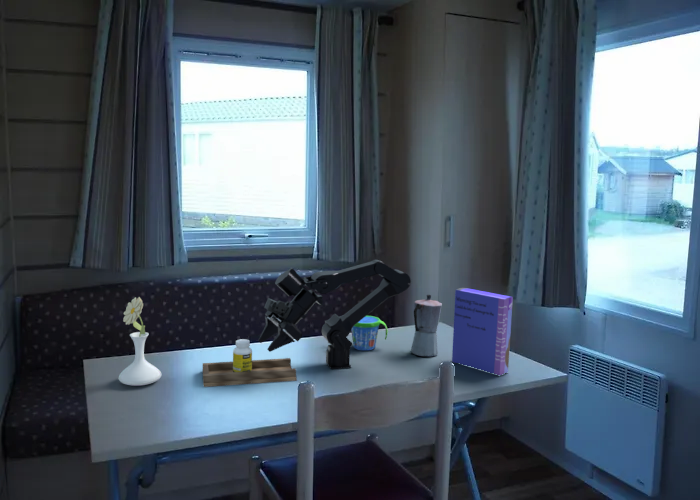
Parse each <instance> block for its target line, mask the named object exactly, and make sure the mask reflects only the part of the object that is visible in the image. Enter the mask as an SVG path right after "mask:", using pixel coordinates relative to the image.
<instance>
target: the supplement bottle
mask: <svg viewBox="0 0 700 500" xmlns="http://www.w3.org/2000/svg"><path fill="white" fill-rule="evenodd" d="M250 345H251V343H250V340H249V339H246V338H242V339H241V338H240V339H237V340H235V347H234V349H233V351H232V362H233V372H246V371H252V360H253V350H252V348H251V347H250Z"/></svg>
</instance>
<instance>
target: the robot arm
mask: <svg viewBox="0 0 700 500" xmlns="http://www.w3.org/2000/svg"><path fill="white" fill-rule="evenodd" d="M375 275H378V276H380V277H381V278H382V280H381V282H380V283H379V286H378V287H377V288H375V289H374V290H373V291H372V292H370V293H369V294H368V295H366V296H365V297H364V298H363V299H361V300H360V301H359V302H358V303H356V304H355V305H354V306H353V307H352V308H351V309H349V310H348V311H347V312H345V313H344V314H343V315H340V316H339V315H338V314H336V313H334V314H332V315H331V317H329V319H326V320H324V324H323V325H322V327H321V334H322V337H323V338H324V339H325V340H326V341H327V344H328V345H327V350H325V353H326V354H325V363H326V365H327V366H328V368H329V369H330V370H337V369H351V368H352V366H351V364H350V360H351V359H350V355H351V354H350V353H351V348H352V345H353V341H352V340H351V341H350V339H348V336H349V335H350V334H351V330H352V328H353V326H354V325H355V324H357V323H358V322H359V321H360V320H362V319H363V318H364V317H365V316H369V314H370V313H372V312H373V311H374V310H375V309H376V308H378V307H379V306H380V305H381V304H383V303H384V302H386V300H388V299H389V298H391V297H394V296H398V295H400V294H401V293H403V292H405V291H407V290H408V289H409V288H410V286H411V282H412V281H411V280H412V279H411V277H410V275H409V274H408V273H406V272H403V271H401V270H399V269H393V268H392V267H390V266H389V265H387V264H385V262H383V261H381V260H380V259H379V260H378V259H372V260H371V261H368V262H363V263H361V264H358V265H353V266H351V267H347V268H342V269H340V270H325V271H316V272H314V273H313V274H312V275H308V276H304V277H301V276H300V275H299V274H298V273H297V271H296V270H295V269H294V268H293V267H290V268H289V269H287V270H285V271H284V272H283V273H281V274H280V275H278V277H277V278H276V280H275V282H274V284H275V285H276V286H277V287H278V288H279V289H280V290H281V291H283V293H285V295H287V296H288V297H292V296H293V299H292V300H291V301H288V300H287V301H286V302H284V301H281V300H277V301H276V300H274V299H272V298H269V297H268V298H267V300H266V302H265V305H264V307H263V308H264V309H266V312H265V313H264V315H265V316H264V319H265V325H264V328H263V330H262V331H261V334H260V336H259V338H258V340H257V341H258V343H261V344H262V343H263V342H265V341H267V340H268V339H270V338H271V337H273V336H275V337H274V339H273V340H272V341H271V342H270V344H269V346H268V347H267V348H266V349H267V350H268V352H273V351H275V350H277V349H280V348H281V347H284V346H286V345H289V344H292V343H295V342H296V341H297V342H299V341H300V340H301V338H303V332H302V331H301V330H300V329H299V328H298V327H297V326H296V325H297V324H298V323H299V322H300V320H302V319H303V320H305V319H306V317H307V316H306V314H307V313H308V311H310V310H311V308H312V307H313V306H314V304H316V303H317V304H318V305H320V306H324V302H323V297H324V296H323V295H326V294H329V293H331V292H333V291H335V290H336V289H338V288H339V287H341V286H342V285H344V284H347V283H351V282H354V281H355V282H356V281H358V280H361V279H365V278H368V277H372V276H375ZM305 286H306V287H307V288H306V287H305ZM315 291H316V292H315ZM317 293H319V295H318V294H317ZM275 334H276V335H275Z"/></svg>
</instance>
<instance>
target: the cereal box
mask: <svg viewBox="0 0 700 500" xmlns="http://www.w3.org/2000/svg"><path fill="white" fill-rule="evenodd" d="M513 298H514V297H513V296H509V295H503V294H499V293H493V292H489V291H484V290H483V291H482V290H478V289H472V288H467V287H459V288H457V289H455V293H454V317H453V333H452V335H453V336H452V355H451V363H453V362H454V363H453V364H456V363H460V364H463V365H467V366H471V367H474V368H477V369H481V370H484V371H487V372H490V373H494V374H497V375H502V374H504V373H507V372H508V373H509V361H510V345H511V333H512V332H511V329H512V317H513V315H512V312H513V300H514V299H513ZM463 365H462V366H463ZM508 373H507V374H508ZM502 376H503V375H502Z"/></svg>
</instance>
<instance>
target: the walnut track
mask: <svg viewBox="0 0 700 500" xmlns="http://www.w3.org/2000/svg"><path fill="white" fill-rule="evenodd" d="M291 360H292V359H291V358H290V357H289V358H288V357H287V358H286V357H285V358H271V359H252V371H246V372H233V361H219V362H202V383H203V384H202V385H203V388H207V387H210V388H211V387H225V386H236V385H237V386H238V385H239V386H240V385H252V384H253V385H254V384H267V383H268V384H269V383H280V382H295V381H296V382H297V381H298V380H297V379H298V378H297V369H296V368H295V367H294V368H292V366H291V365H292V363H291Z"/></svg>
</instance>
